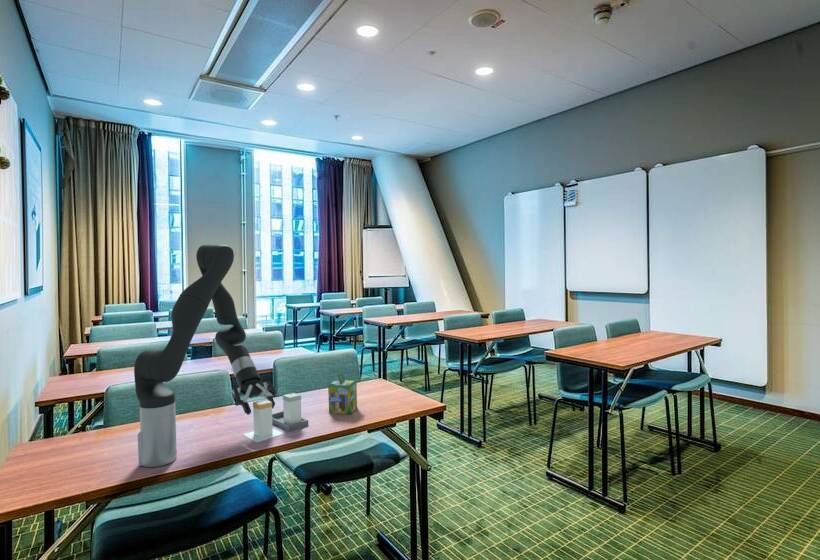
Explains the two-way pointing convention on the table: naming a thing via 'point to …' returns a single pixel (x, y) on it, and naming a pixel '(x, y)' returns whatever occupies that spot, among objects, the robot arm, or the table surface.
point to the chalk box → (342, 396)
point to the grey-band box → (292, 408)
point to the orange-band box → (262, 418)
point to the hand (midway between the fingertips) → (261, 410)
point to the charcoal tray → (279, 421)
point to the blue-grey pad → (258, 439)
